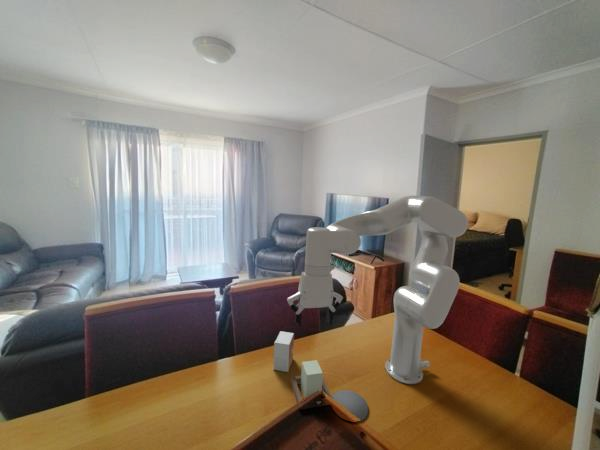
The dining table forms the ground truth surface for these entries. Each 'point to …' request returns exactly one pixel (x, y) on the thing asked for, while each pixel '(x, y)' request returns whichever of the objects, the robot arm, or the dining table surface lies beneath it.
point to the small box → (283, 351)
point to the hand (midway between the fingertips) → (313, 323)
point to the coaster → (352, 403)
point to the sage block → (311, 378)
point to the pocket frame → (297, 380)
